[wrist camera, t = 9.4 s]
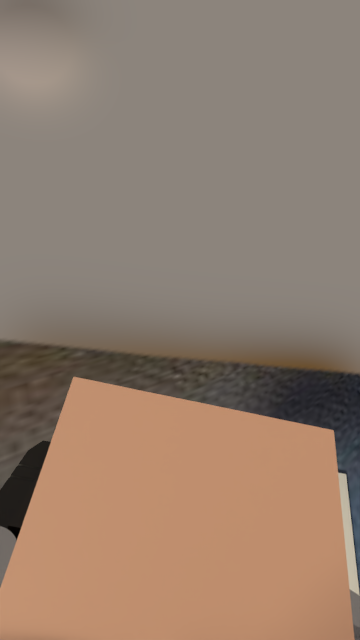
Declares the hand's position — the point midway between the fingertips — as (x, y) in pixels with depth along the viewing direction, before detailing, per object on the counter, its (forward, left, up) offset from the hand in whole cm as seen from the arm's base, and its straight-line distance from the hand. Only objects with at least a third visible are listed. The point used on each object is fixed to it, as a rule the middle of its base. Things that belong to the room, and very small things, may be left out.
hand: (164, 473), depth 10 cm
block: (0, +2, -4) cm, 4 cm away
